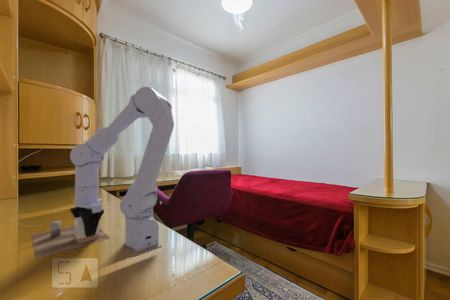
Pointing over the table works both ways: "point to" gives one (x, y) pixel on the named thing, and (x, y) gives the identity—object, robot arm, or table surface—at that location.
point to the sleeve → (82, 231)
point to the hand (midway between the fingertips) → (86, 233)
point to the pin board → (59, 240)
